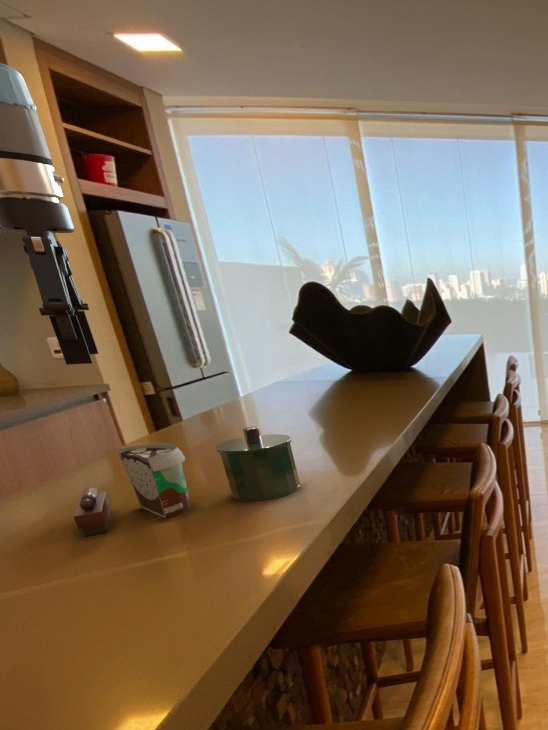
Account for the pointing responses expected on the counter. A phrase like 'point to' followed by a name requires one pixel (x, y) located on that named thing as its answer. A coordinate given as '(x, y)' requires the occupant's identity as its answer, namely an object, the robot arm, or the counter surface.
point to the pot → (261, 474)
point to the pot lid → (253, 442)
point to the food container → (157, 477)
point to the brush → (93, 512)
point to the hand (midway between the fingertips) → (83, 359)
